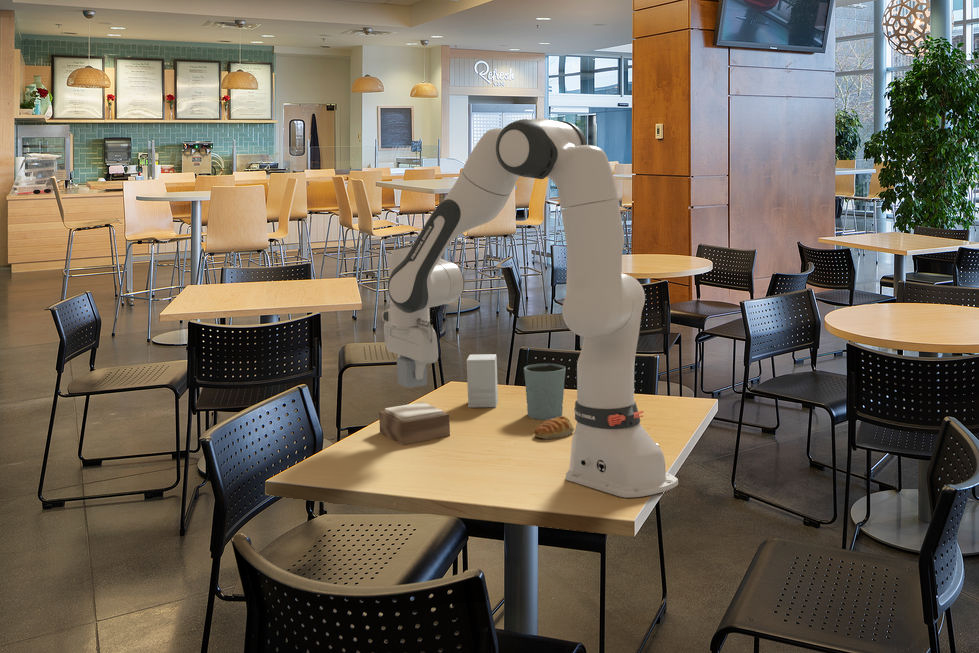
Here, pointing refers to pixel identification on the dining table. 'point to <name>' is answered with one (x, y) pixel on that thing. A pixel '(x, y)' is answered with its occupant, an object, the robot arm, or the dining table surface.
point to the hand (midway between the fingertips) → (412, 376)
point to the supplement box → (482, 380)
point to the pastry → (554, 428)
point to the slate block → (409, 373)
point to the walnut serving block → (414, 423)
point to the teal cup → (544, 390)
